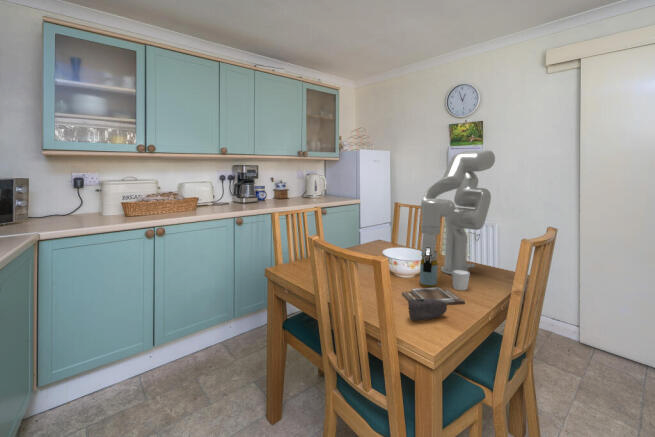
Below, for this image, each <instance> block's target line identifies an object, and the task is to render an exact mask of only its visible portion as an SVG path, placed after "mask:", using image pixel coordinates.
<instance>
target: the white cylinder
mask: <svg viewBox="0 0 655 437" xmlns="http://www.w3.org/2000/svg"><path fill="white" fill-rule="evenodd" d="M468 271H469V270H468ZM468 271H465V270H453V271H452V275H451V276H452V288H453V289H455V290H458V291H466V290H468V286H469V281H470V277H471V273H470V271H469V272H468Z"/></svg>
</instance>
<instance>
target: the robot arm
mask: <svg viewBox="0 0 655 437" xmlns="http://www.w3.org/2000/svg"><path fill="white" fill-rule="evenodd" d="M495 161H496V155H495V153H494V151H492V150H469V151H461V152H459V153H456V154H453V155H452V157H451V158H450V161H449V162H448V165H447V167H446V169H445V172H444V174H443V177H442V178H441V179H439V180H437V181H436V182H435V183H433V184H432V185H431V186H429V187H428V189H427V190H426V191H425V193H424V195H423V198H422V200H421V203H420V210H421V222H420V223H421V227H420V233H421V234H423V235H422V244H421V255H420V256H421V258H422V257H423V256H424V255H425V258H424V264H423V272H429V273H431V268H432V263H431V259H432V258H433V256H434V253H435V251H436V246H437V235H440V233H441V232H440V231H441V220H442V219H441V218H444V221H445V229H446V230H445V231H446V232H445V248H444V250H445V252H444V265H442V266H441V267H440V271H441V272H442V273H443V274H446V275H451V276H452V271H453V270H465V271H468V272H469V273H470V271H469V268H470V269H473V268H475V267H476V264H475V263H470V262H467V247H468V235H467V232H466V231H465V230H466V229H467V230H475V231H476V230H477V231H479V230H481V229H482V228H483V227H484V225H485V224H486V220H487V216H488V213H489V208H490V205H491V201H492V200H491V199H492V194H491V192H490V190H489V189H487V188H484V187H478V185H479V178H478V176H477V174H476V173H475V172H484V171H486V170H490V169H491V168H492V167H493V166H494V164H495ZM454 190H456V192H455V193H454V198H453V201H452V200H450V199H445V198H443V199H442V198H437V197H439V196H440V195H442V194H444V193H447V192H451V191H454ZM455 205H456V206H457V207H456V206H455Z"/></svg>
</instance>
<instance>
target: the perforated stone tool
mask: <svg viewBox="0 0 655 437" xmlns="http://www.w3.org/2000/svg"><path fill="white" fill-rule="evenodd" d="M407 302H408V307H407V308H408V315H409V319H410V321H426V320H431V319H436V318H439V317H441V316H443V315H444V314H445V313H446V312H447V309H448V307H447V306H448V305H446V304H445V303H444V302H442V301H439V300H435V299H412V300H409V301H408V300H407Z"/></svg>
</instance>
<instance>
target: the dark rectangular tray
mask: <svg viewBox="0 0 655 437" xmlns="http://www.w3.org/2000/svg"><path fill="white" fill-rule="evenodd" d="M401 295H402V297H404V298H405V299H406V300H407V302H408V301H409V300H412V299H435V300H439V301H442V302H444V303H445V304H446V306H448V305H464V304H466V301H465V300H464V298H463V299H462V298H461V296H459V295H458V294H456V293H455V292H454V291H452V290H450V289H448V288H443V289H442V288H441V287H439V286H438V287H437V286H436V287H432V288H428V287H424V288H423V287H422V288H411V291H402V292H401Z"/></svg>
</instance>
